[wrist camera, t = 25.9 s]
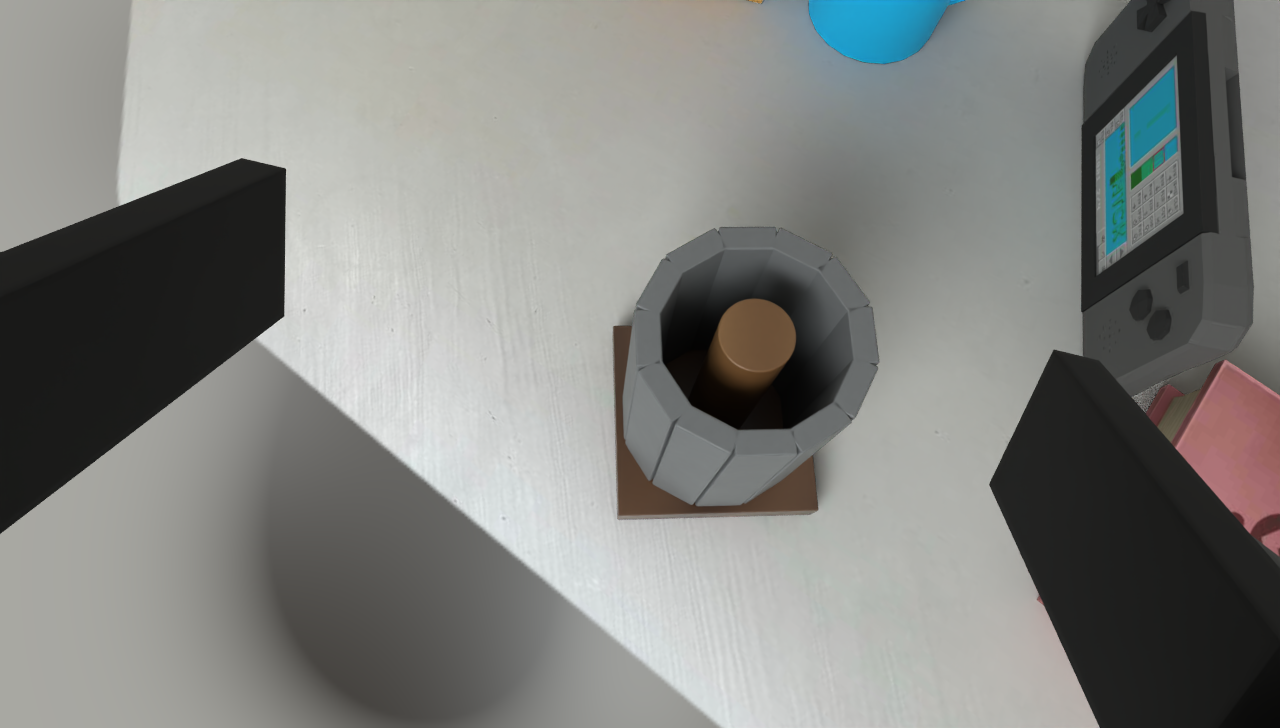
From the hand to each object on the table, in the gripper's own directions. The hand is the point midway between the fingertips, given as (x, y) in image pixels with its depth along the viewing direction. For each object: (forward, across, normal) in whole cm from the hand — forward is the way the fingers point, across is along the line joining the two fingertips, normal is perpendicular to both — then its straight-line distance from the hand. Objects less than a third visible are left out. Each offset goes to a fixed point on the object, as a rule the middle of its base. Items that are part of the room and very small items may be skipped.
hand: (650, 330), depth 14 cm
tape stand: (+26, +4, -16) cm, 31 cm away
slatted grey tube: (+25, +4, -15) cm, 29 cm away
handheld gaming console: (+38, +24, -4) cm, 45 cm away
